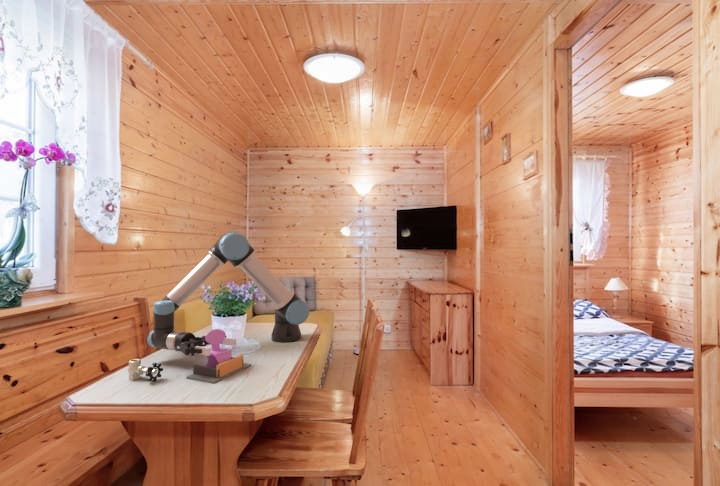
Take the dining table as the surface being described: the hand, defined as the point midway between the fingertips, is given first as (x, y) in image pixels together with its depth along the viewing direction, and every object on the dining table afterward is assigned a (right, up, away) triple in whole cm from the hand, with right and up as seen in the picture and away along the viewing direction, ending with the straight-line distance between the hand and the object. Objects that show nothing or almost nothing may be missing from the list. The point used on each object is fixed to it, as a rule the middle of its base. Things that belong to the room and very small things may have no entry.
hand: (223, 346), depth 138 cm
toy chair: (-2, -9, +1) cm, 10 cm away
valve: (-27, -10, -7) cm, 29 cm away
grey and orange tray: (-2, -10, +1) cm, 10 cm away
